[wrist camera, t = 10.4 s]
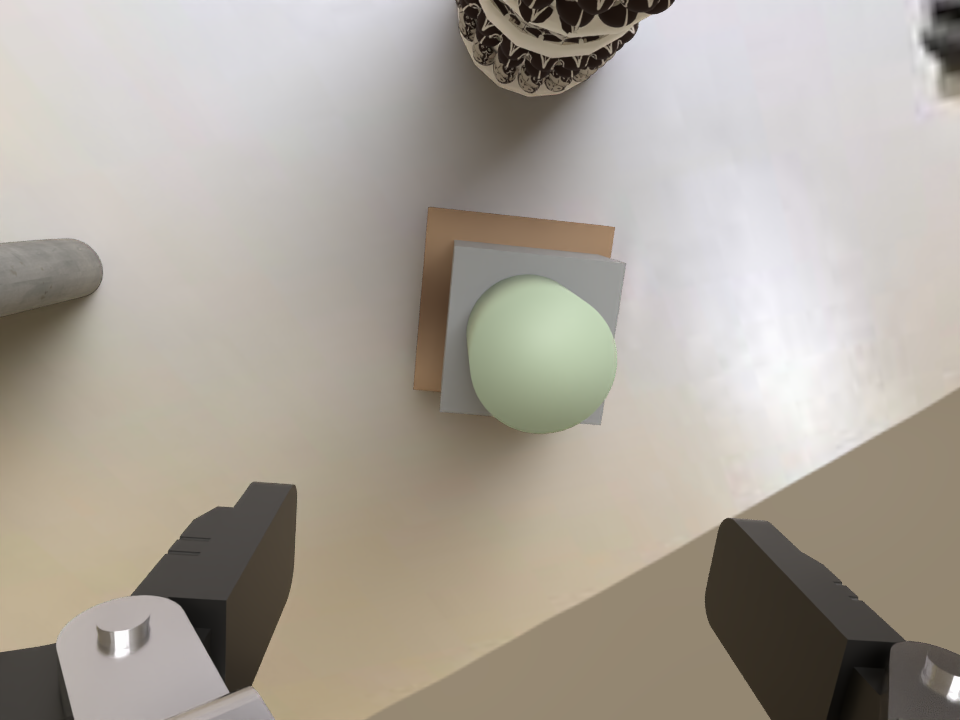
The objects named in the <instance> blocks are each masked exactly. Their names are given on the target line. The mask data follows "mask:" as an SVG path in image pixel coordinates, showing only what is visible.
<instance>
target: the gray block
mask: <svg viewBox="0 0 960 720" xmlns="http://www.w3.org/2000/svg"><path fill="white" fill-rule="evenodd" d="M625 267H626V263H623V262H620V261H617V260H614V259H611V258H607V257H604V256H601V255H598V254H589V253H579V252H569V251H560V250H550V249H540V248H530V247H521V246H511V245H501V244H491V243H482V242H472V241H462V240H454V249H453V260H452V271H451V282H450V293H449V303H448V314H447V325H446V336H445V347H444V358H443V369H442V380H441V397H440V412H448V413H460V414H472V415H484V416H492V415H491V414H490V413H489V412H488V411H487V409H486V408H485V407H484V406H483V404H482V403H481V401H480V400H479V398H478V396H477V394H476V392H475V389H474V387H473V383H472V379H471V374H470V365H469V356H468V348H467V338H466V332H467V324H468V319H469V316H470V313H471V311H472V309H473V307H474V305H475V304H476V302H477V300H478V299H479V298H480V297H481V295H482V294H483V293H484V292H485V291H486V290H488V289H489V288H490V287H491V286H493V285H494V284H496V283H498V282H499V281H501V280H503V279H506V278H509V277H512V276H517V275H525V274H527V275H538V276H543V277H546V278H549V279H552V280H554V281H556V282H558V283H559V284H561V285H562V286H564V287H565V288H567V289H568V290H569V291H571V292H572V293H574V294H575V295H577V296H578V297H579V298H581V299H582V300H584V301H585V302H587V303H588V304H589V305H591V306H592V307H593V308H594V309H595V310H596V311H597V312H598V313H599V314H600V315H601V316H602V317H603V319H604V320H605V322H606V323H607V325H608V326H609V328H610V331H611V333H612V335H613V338H614V337H615V331H616V324H617V318H618V312H619V305H620V299H621V293H622V286H623V280H624V273H625ZM604 401H605V400H604ZM604 401H603V403H602V404H601V405H600V406H599V407H598V409H597V410H596V411H595V412H594V413H593V414H591V415H590V416H589V417H588V418H587V419H585V420H584V421H582V422H581V423H580V424H592V425H601V420H602V413H603V407H604Z"/></svg>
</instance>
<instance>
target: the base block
mask: <svg viewBox="0 0 960 720" xmlns="http://www.w3.org/2000/svg"><path fill="white" fill-rule="evenodd" d="M614 231H615V227H609V226H601V225H593V224H584V223H574V222H565V221H556V220H547V219H537V218H528V217H519V216H509V215H500V214H491V213H481V212H472V211H463V210H453V209H444V208H435V207H428V217H427V229H426V241H425V254H424V266H423V278H422V290H421V302H420V314H419V326H418V339H417V351H416V363H415V375H414V387H413V389H414V390H425V391H437V392H441V380H442V369H443V358H444V347H445V336H446V325H447V314H448V303H449V293H450V282H451V271H452V260H453V249H454V240H462V241H472V242H482V243H491V244H501V245H511V246H521V247H530V248H540V249H550V250H560V251H569V252H579V253H589V254H598V255H601V256H604V257H607V258H610V257H611V250H612V244H613V237H614Z"/></svg>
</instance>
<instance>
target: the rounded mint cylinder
mask: <svg viewBox="0 0 960 720" xmlns="http://www.w3.org/2000/svg"><path fill="white" fill-rule="evenodd" d="M466 338H467V348H468V356H469V365H470V374H471V379H472V383H473V387H474V389H475V392H476V394H477V396H478V398H479V400H480V401H481V403H482V404H483V406H484V407H485V408H486V409H487V411H488V412H489V413H490V414H491V415H492V416H494V417H495V418H496V419H497V420H499V421H500V422H502V423H503V424H505V425H507V426H509V427H511V428H514V429H516V430H519V431H523V432H527V433H534V434H546V433H554V432H559V431H563V430H566V429H568V428H571V427H573V426H575V425H577V424H579V423H581V422H582V421H584V420H585V419H587V418H588V417H589V416H590V415H591V414H593V413H594V412H595V411H596V410H597V409H598V407H599V406H600V405H601V404H602V403H603V401H604V400H605V398H606V397H607V395H608V393H609V391H610V389H611V387H612V384H613V381H614V378H615V373H616V367H617V351H616V346H615V341H614V338H613V335H612V333H611V331H610V328H609V326H608V325H607V323H606V322H605V320H604V319H603V317H602V316H601V315H600V314H599V313H598V312H597V311H596V310H595V309H594V308H593V307H592V306H591V305H589V304H588V303H587V302H585V301H584V300H582V299H581V298H579V297H578V296H577V295H575V294H574V293H572V292H571V291H569V290H568V289H567V288H565V287H564V286H562V285H561V284H559V283H558V282H556V281H554V280H552V279H549V278H546V277H543V276H538V275H527V274H525V275H517V276H512V277H509V278H506V279H503V280H501V281H499V282H498V283H496V284H494V285H493V286H491V287H490V288H489V289H488V290H486V291H485V292H484V293H483V294H482V295H481V297H480V298H479V299H478V300H477V302H476V304H475V305H474V307H473V309H472V311H471V313H470V316H469V319H468V324H467V332H466Z"/></svg>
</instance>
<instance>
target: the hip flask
mask: <svg viewBox="0 0 960 720" xmlns="http://www.w3.org/2000/svg"><path fill="white" fill-rule="evenodd" d="M102 274H103V271H102V265H101V261H100V259H99V257H98V255H97V254H96V253H95V251H94V250H93V249H92V248H91V247H90V246H88V245H87V244H85V243H83V242H81V241H79V240H75V239H45V240H33V241H20V242H8V243H0V317H2V316H6V315H10V314H14V313H18V312H22V311H26V310H31V309H35V308H39V307H43V306H47V305H51V304H55V303H59V302H63V301H67V300H72V299H76V298H80V297H84V296H87V295H89V294H91V293H92V292H94V291H95V290H96V289H97V288H98V286H99V285H100V282H101V280H102Z"/></svg>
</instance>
